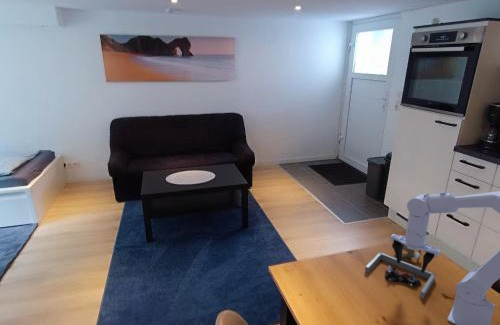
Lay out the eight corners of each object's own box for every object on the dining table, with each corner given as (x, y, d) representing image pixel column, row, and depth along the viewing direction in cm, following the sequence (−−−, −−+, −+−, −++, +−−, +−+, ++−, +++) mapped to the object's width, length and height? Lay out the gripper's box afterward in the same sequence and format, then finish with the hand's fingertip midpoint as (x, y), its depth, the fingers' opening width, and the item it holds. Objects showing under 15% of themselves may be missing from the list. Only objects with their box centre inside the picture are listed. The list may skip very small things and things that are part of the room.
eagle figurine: (418, 251, 124) (395, 243, 127) (424, 244, 119) (400, 236, 122) (415, 268, 120) (392, 260, 123) (422, 262, 115) (397, 253, 118)
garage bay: (434, 279, 109) (435, 274, 109) (423, 298, 101) (424, 292, 100) (379, 257, 123) (379, 251, 122) (364, 272, 114) (365, 266, 113)
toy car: (385, 271, 115) (386, 261, 114) (421, 280, 110) (422, 270, 109) (384, 280, 110) (385, 271, 109) (421, 290, 105) (423, 280, 104)
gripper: (388, 227, 101) (384, 262, 105) (438, 243, 91) (431, 281, 95) (396, 220, 105) (392, 254, 109) (444, 234, 96) (437, 271, 100)
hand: (410, 266), depth 102 cm, fingers open, 7 cm apart
